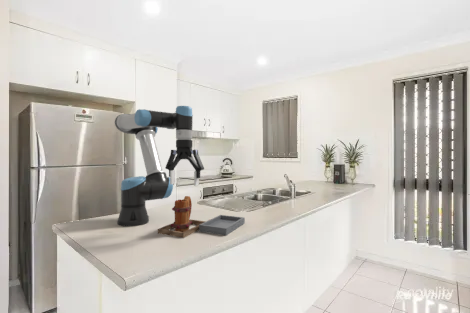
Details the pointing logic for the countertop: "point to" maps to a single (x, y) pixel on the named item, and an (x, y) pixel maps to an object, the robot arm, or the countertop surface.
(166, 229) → the wooden picture frame
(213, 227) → the tray
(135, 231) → the countertop surface
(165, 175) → the robot arm
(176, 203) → the mug
